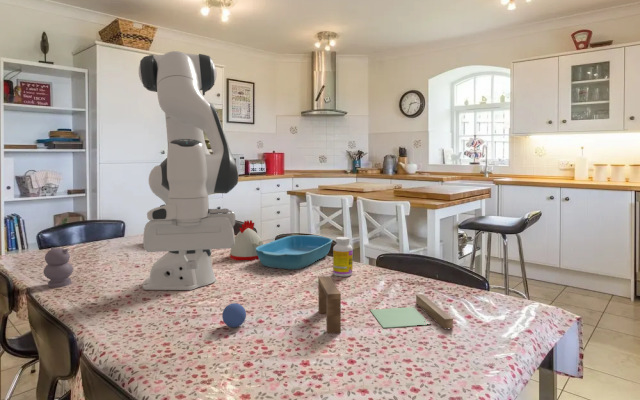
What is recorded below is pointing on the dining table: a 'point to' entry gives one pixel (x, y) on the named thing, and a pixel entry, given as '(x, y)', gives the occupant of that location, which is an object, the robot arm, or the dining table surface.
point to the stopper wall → (434, 311)
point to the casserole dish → (293, 251)
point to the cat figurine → (58, 267)
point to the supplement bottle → (342, 257)
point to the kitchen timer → (246, 243)
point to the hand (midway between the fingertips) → (191, 268)
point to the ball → (234, 315)
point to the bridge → (330, 303)
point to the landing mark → (398, 317)
